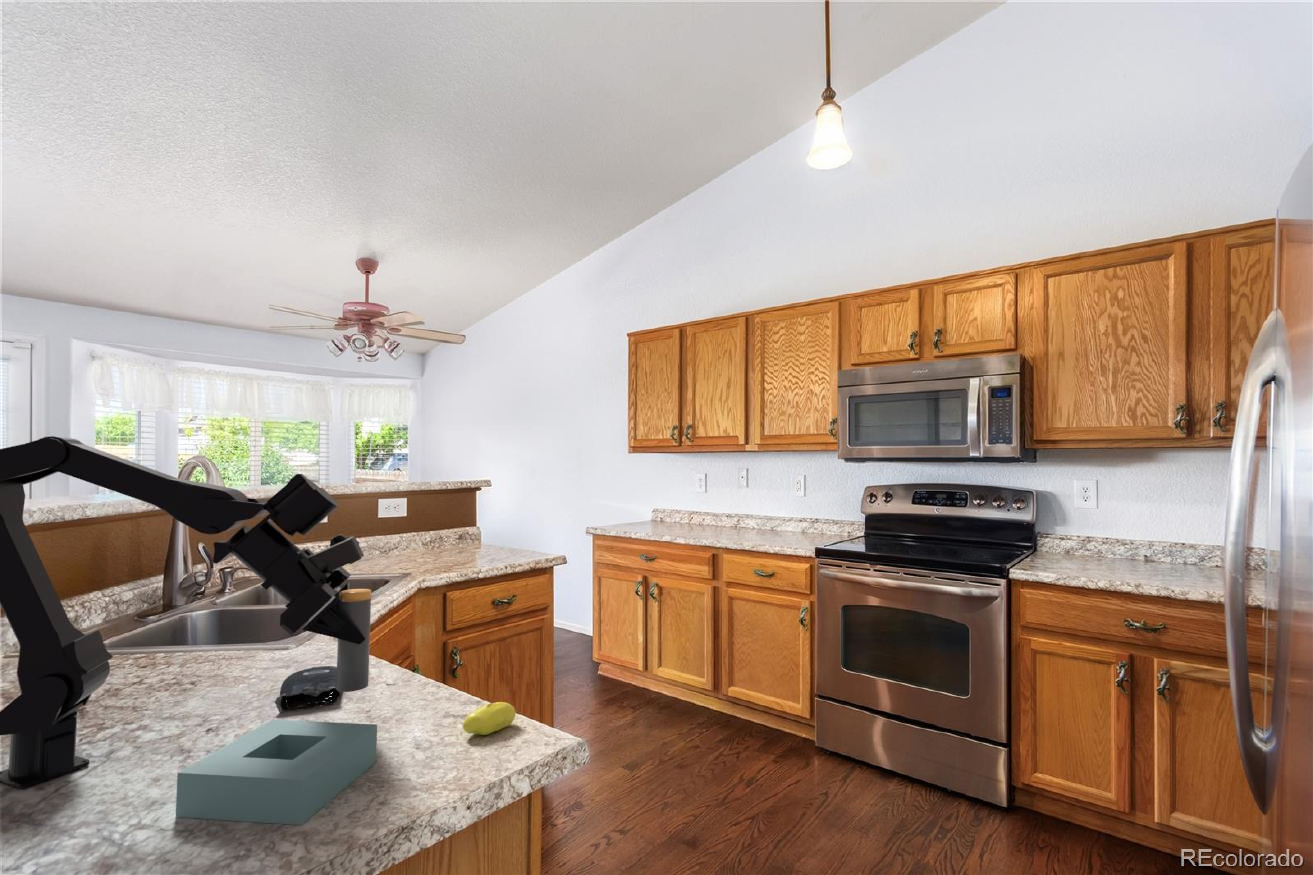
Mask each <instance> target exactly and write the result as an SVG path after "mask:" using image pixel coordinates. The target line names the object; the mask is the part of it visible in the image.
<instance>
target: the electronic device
mask: <svg viewBox="0 0 1313 875" xmlns="http://www.w3.org/2000/svg"><path fill="white" fill-rule="evenodd" d="M336 680H337V666H334V665H322V666H321V665H320V666H314V667H309V668H305V669H302V670H301V669H300V670H299V671H296V672H293V673H292V674H289V675H288V676H287V677H286V678H285V679H284V680H283V682H282V684H281V685H280V691H279V696H277V697H276V699H275V701H274V704H275V706H276V708H277V711H278V712H279V714H280V713H283V712H287V711H297V710H306V709H313V708H317V707H321V706H320V705H323V706H330V705H332V706H333V705H334V704H335V703H336V702H337V701H338V700H339V698H341V692H340V691H337V690H336ZM331 691H333V693H332V694H330V695H328V696H327V697H329V696H332V697H329V698H328V699H324V701H325V700H332V701H326V702H327V703H326V702H322V701H323V700H321V701H315V702H312V701H307V702H305V705H304V706H303V705H299V706H295V708H290V706H289V701H288V702H286V700H288V699H287V698H288V697H291V696H296V695H299V694H304V695H308V696H313V697H318V696H319V695H320V694H321V693H327V692H331ZM286 696H287V697H286ZM308 702H309V703H308ZM301 704H304V702H301Z"/></svg>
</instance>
